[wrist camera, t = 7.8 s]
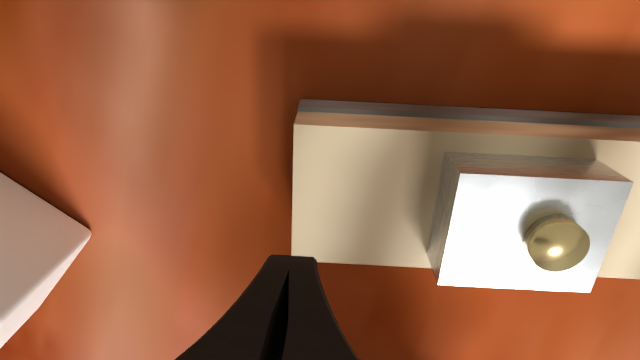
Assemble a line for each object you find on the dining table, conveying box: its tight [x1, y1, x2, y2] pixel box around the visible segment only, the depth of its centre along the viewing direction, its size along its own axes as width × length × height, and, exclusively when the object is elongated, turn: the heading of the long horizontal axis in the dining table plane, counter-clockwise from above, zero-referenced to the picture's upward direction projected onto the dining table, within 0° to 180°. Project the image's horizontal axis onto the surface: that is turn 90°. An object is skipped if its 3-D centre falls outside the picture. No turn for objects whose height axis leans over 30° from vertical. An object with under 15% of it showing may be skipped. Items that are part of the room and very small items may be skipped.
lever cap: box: [426, 151, 634, 293], centre depth 16 cm, size 5×6×3 cm
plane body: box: [291, 99, 640, 279], centre depth 19 cm, size 24×7×4 cm, turn 87°
